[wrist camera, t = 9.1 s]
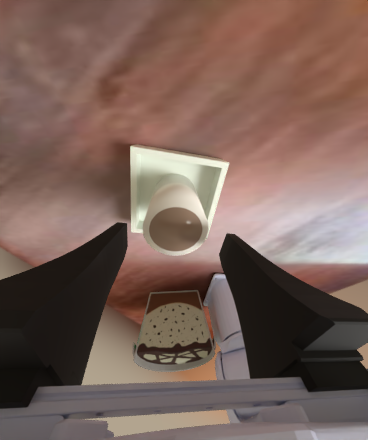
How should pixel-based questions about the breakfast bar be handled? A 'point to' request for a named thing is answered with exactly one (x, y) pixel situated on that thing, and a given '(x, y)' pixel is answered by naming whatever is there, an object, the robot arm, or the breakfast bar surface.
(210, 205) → the tray
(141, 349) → the food container
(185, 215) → the cup
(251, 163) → the breakfast bar surface
